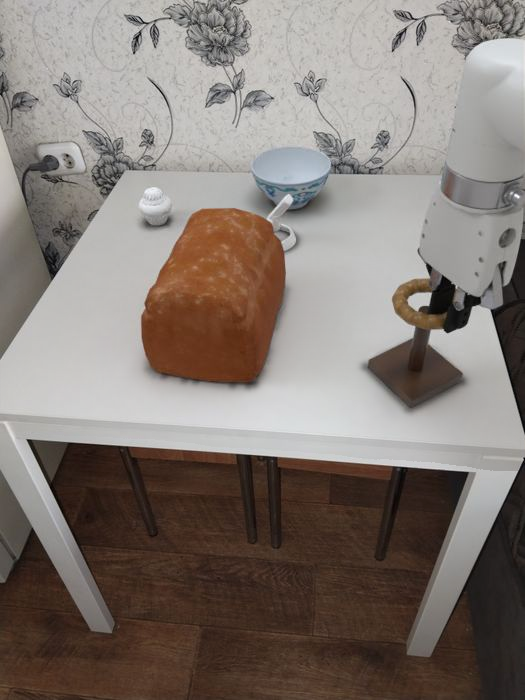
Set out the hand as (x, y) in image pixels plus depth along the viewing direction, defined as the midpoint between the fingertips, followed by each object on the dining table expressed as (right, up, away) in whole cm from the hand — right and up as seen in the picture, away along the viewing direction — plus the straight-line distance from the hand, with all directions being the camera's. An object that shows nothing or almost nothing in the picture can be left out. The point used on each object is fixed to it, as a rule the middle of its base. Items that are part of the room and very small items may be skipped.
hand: (446, 320), depth 71 cm
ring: (-2, +2, +2) cm, 3 cm away
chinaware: (-16, +26, +45) cm, 55 cm away
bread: (-28, 0, +20) cm, 35 cm away
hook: (-20, +16, +36) cm, 44 cm away
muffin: (-42, +21, +42) cm, 63 cm away
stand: (-1, -7, +11) cm, 13 cm away
